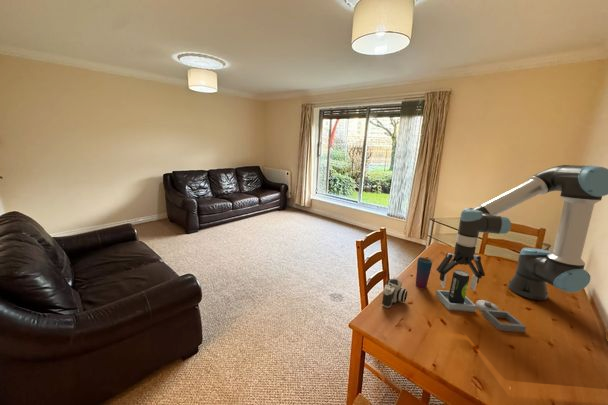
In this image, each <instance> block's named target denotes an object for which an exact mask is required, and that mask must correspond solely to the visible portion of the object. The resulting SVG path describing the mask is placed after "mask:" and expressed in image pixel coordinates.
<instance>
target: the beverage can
mask: <svg viewBox="0 0 608 405" xmlns="http://www.w3.org/2000/svg"><path fill="white" fill-rule="evenodd" d="M452 273H453V274H452V277H451V283H450V287H449V288H450V289H449V291H450V292H449V297H448V300H449V302H450V303H456V304H464V301H465V296H466V294H467V291H468V285H469V281H470V274H469V272H467V271H465V270H461V269H454V271H453V272H452ZM466 297H467V296H466Z"/></svg>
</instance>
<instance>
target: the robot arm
mask: <svg viewBox="0 0 608 405" xmlns="http://www.w3.org/2000/svg"><path fill="white" fill-rule="evenodd" d="M555 191H556V192H560V198H561V199H563V205H562V208H561V215H560V219H559V223H558V227H557V232H556V236H555V241H554V244H553V245H554V246H553V250H552V251H550V250H546V249H541V248H536V247H535V248H534V247H523V248H521V251H520V252H519V254H518V260H517V264H516V269H515V273H514V275H513V276H512V278H511V279H510V280H509V281H508V285H507V288H508V289H509V290H510V291H511V292H513V293H515V294H517V295H520V296H522V297H525V298H527V299H531V300H537V301H547V299H548V296H549V293H548V287H547V283H548V284H549V285H551V286H553V287H554V288H556V289H558V290H561V291H563V292H566V293H577V292H581V291H582V290H583V289H585V288H587V286H588V285H589V284H590V282H591V274H589V272H588V271H587V270H585V266H586V262H584V261H583V259H582V255H583V251H584V247H585V243H586V240H587V235H588V231H589V227H590V222H591V219H592V215H593V210H594V207H595V204H597V203H598V202H601V201H602V198H603V197H605V196H607V195H608V168H606V167H604V166H599V165H576V164H575V165H574V164H571V165H570V164H563V165H562V164H560V165H556V166H553V167H550V168H547V169H544V170H542V171H539V172H537V173H535V174H534V175H531V176H529V177H528V178H527V181H525V182H523V183H521V184H519V185H517V186H515V187H513V188H511V189H509V190H507V191H505V192H503V193H501V194H500V195H497V196H496V197H494V198H491V199H490V200H488V201H485V202H484V203H482V204H479V205H478V206H476V207H474V208H472V207H466V208H464V209H462V210H461V212H460V217H459V224H458V228H457V235H456V240H455V241H456V243H455V246H454V253H450V252H446V253H445V254H446V255H445V257H444V258H443V260H442V261H441V263H440V264H439V265H438V266H437V267H436V272H438V273H439V280H440V283H439V286H440V287H441V288H442V289H445V288H446V283H447V277H448V275H447V274H448V273H449V272H451V270H452V269H454V268H455V267H457V266H458V265H464V266H465V265H466V266H467V265H468V267H469V268H470V269H471V271H472V273H473V274H472V275H471V280H470V285H469V289H471V290H472V291H473V292H476V288H477V284H479V282H480V279H482V277H485V276H486V274H485V271H484V268H483V264H482V260H481V259H482V257H481V256H480V255H478V254H475V253H476V249H477V247H476V246H478V244H477V243H478V238H479V234H480V233H484V234H486V233H487V234H497V235H499V234H500V235H501V234H503V235H505V234H507V233H509V232H510V230H511V227H512V222H511V220H510V219H509V217H506V216H502V215H501V214H503V213H504V212H506V211H508V210H510V209H512V208H515V207H516V206H518V205H521V204H522V203H524V202H526V201H528V200H530V199H532V198H535V197H536V196H538V195H547V193H550V192H555ZM473 260H474V263H475V265H474V263H473Z"/></svg>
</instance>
